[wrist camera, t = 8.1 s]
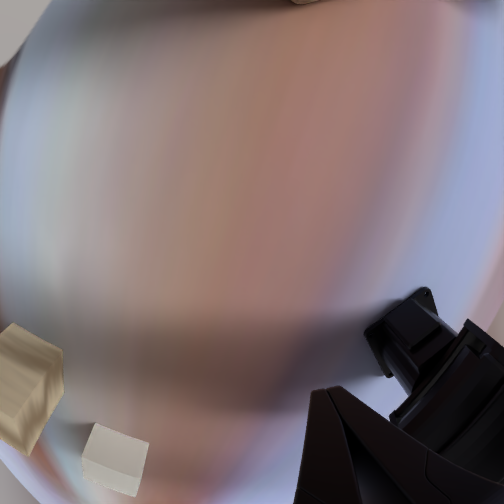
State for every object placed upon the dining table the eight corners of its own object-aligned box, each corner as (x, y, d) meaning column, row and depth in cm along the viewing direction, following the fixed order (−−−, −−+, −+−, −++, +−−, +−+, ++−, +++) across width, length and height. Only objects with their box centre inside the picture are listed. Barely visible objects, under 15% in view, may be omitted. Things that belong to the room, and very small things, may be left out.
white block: (95, 421, 23) (81, 456, 18) (149, 442, 24) (141, 479, 19) (94, 448, 24) (83, 478, 19) (142, 465, 25) (135, 497, 20)
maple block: (13, 322, 19) (-43, 376, 10) (62, 349, 20) (13, 419, 11) (18, 366, 20) (-24, 420, 12) (64, 392, 21) (28, 457, 13)
